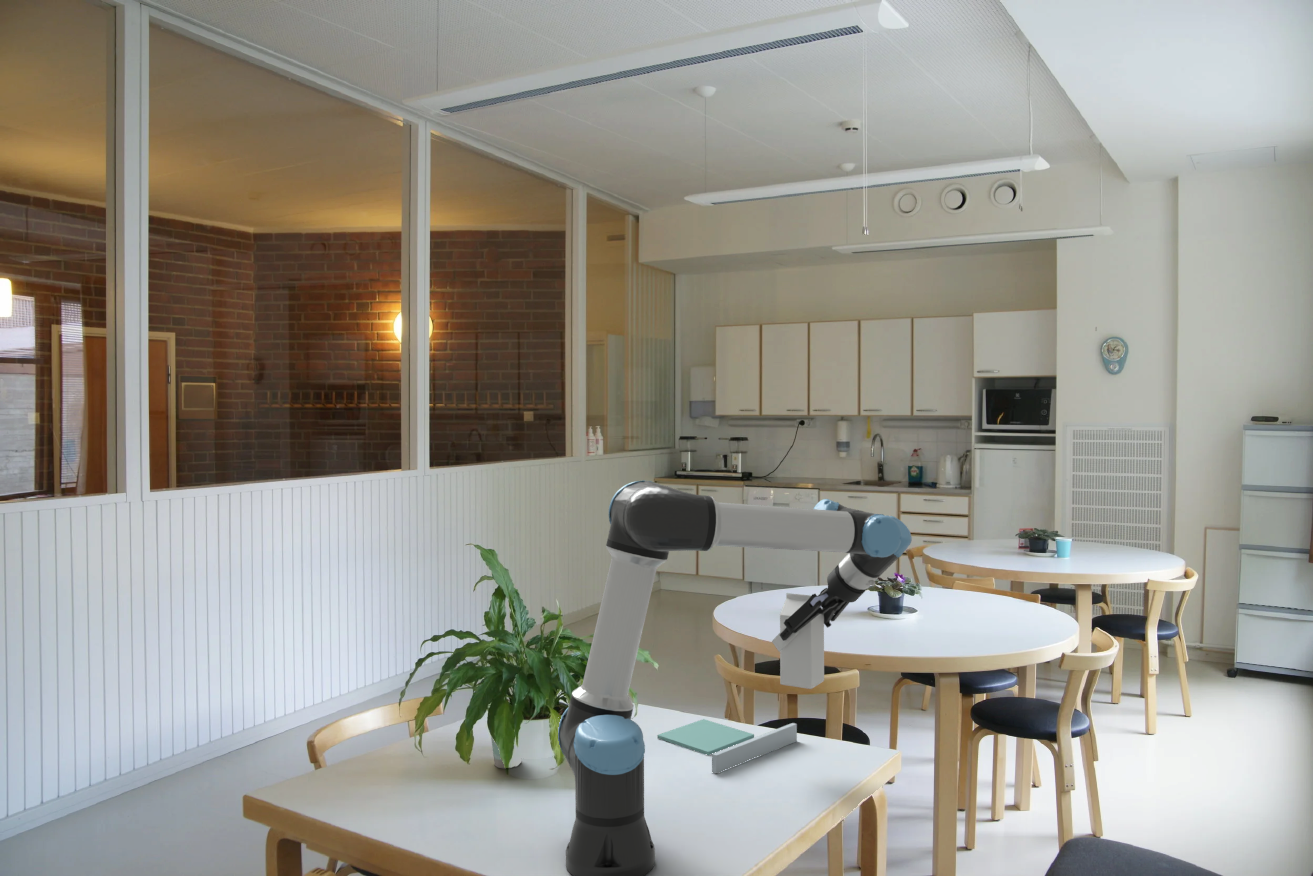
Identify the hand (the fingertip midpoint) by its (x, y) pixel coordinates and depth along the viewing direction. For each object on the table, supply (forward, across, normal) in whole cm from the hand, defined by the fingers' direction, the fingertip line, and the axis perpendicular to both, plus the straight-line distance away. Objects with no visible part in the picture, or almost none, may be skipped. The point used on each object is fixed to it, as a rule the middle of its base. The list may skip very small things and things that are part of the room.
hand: (789, 642), depth 204 cm
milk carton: (+4, 0, -8) cm, 9 cm away
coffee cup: (+50, -42, +12) cm, 67 cm away
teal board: (+36, 0, -1) cm, 36 cm away
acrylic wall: (+25, -1, -13) cm, 28 cm away
